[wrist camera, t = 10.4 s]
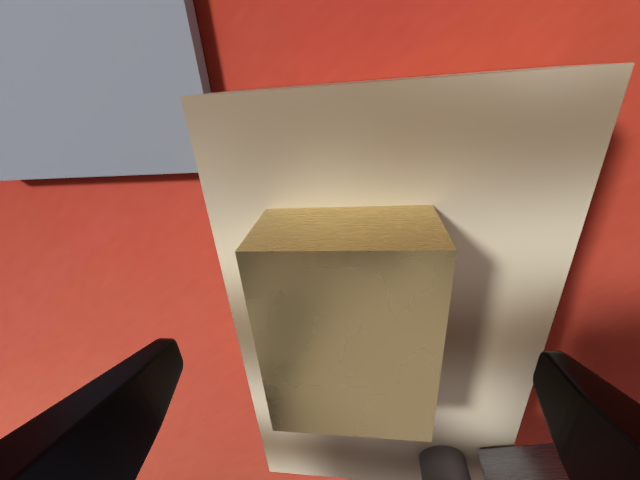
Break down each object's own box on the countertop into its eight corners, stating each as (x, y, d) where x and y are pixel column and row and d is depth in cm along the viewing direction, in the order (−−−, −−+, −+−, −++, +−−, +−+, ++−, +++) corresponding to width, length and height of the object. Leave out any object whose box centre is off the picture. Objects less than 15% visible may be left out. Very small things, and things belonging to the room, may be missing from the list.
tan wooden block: (417, 369, 11) (431, 442, 9) (289, 363, 12) (272, 430, 10) (432, 205, 9) (457, 250, 6) (266, 208, 9) (235, 251, 7)
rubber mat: (225, 167, 12) (219, 171, 11) (13, 176, 13) (-2, 180, 13) (152, -202, 8) (137, -222, 7) (-144, -140, 9) (-175, -153, 9)
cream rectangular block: (476, 424, 16) (538, 613, 11) (283, 412, 18) (245, 573, 12) (557, 66, 9) (870, 51, 4) (225, 91, 11) (64, 110, 5)
